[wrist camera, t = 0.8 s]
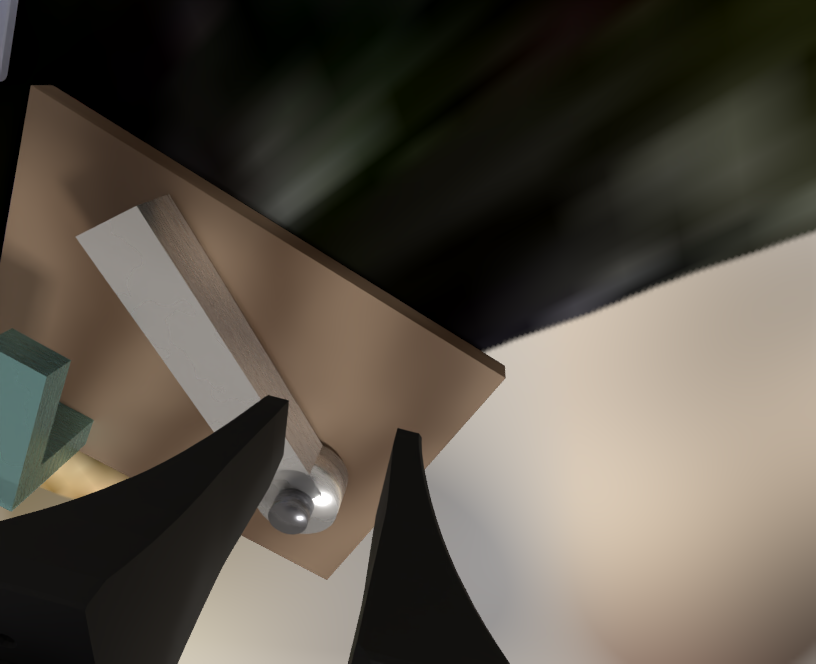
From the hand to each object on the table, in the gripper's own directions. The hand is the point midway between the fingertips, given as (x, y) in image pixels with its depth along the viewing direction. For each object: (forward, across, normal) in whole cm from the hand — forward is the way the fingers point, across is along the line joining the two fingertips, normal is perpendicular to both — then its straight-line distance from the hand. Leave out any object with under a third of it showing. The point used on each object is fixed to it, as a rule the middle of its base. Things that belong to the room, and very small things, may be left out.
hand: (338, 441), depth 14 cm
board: (+8, +7, +6) cm, 12 cm away
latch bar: (+7, +6, +4) cm, 10 cm away
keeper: (+7, +14, +7) cm, 17 cm away
